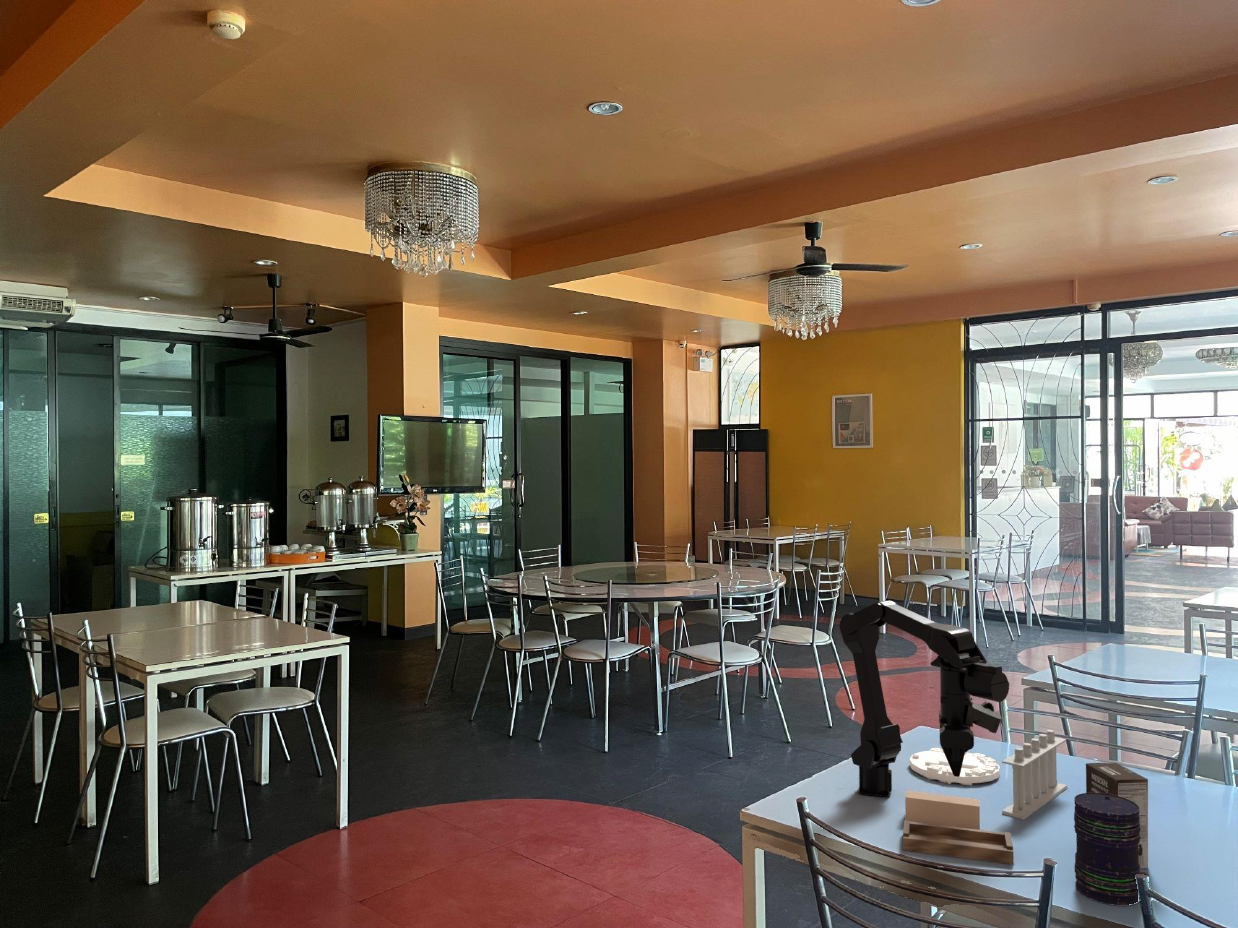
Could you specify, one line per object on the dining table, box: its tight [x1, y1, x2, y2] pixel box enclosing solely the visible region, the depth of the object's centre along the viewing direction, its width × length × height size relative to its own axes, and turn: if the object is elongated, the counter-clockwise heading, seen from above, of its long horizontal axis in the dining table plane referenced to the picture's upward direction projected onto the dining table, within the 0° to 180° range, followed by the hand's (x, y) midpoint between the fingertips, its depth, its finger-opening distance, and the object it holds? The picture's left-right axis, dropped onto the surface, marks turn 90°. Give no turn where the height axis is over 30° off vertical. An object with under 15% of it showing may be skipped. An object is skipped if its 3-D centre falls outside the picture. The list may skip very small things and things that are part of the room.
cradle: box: [902, 819, 1015, 865], centre depth 167 cm, size 19×8×3 cm, turn 71°
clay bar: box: [904, 790, 981, 830], centre depth 179 cm, size 14×4×5 cm, turn 68°
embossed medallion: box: [909, 747, 1001, 786], centre depth 210 cm, size 20×20×3 cm
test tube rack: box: [1001, 729, 1068, 820], centre depth 191 cm, size 25×4×13 cm, turn 135°
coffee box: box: [1085, 762, 1149, 869], centre depth 162 cm, size 9×6×16 cm
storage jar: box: [1073, 792, 1141, 906], centre depth 149 cm, size 10×10×15 cm
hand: (956, 768), depth 179 cm, fingers open, 9 cm apart
